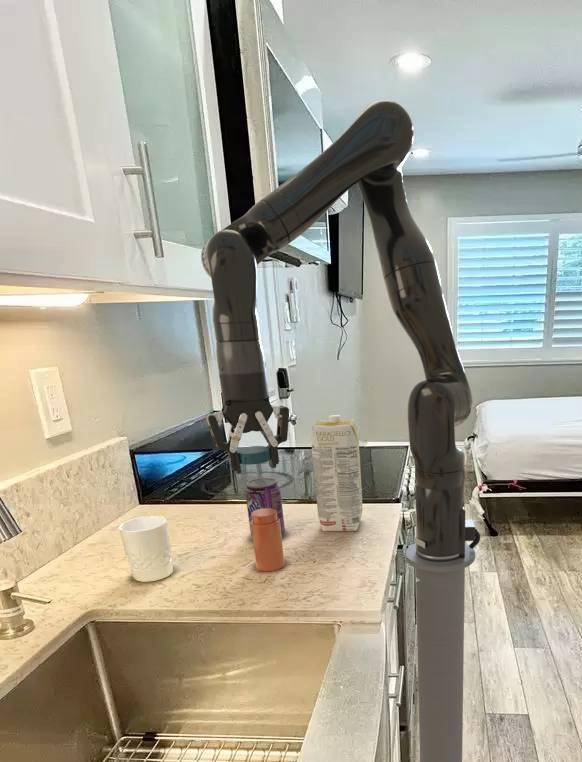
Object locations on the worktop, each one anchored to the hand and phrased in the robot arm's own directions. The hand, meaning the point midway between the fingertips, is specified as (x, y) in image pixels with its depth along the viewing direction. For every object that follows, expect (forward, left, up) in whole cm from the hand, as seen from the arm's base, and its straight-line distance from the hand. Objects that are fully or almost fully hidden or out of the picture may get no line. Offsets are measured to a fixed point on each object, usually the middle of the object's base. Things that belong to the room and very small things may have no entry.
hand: (255, 469), depth 99 cm
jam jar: (0, 0, -19) cm, 19 cm away
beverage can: (+4, -15, -19) cm, 25 cm away
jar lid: (0, 0, +3) cm, 3 cm away
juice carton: (-11, -20, -19) cm, 30 cm away
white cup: (+21, +3, -19) cm, 28 cm away
